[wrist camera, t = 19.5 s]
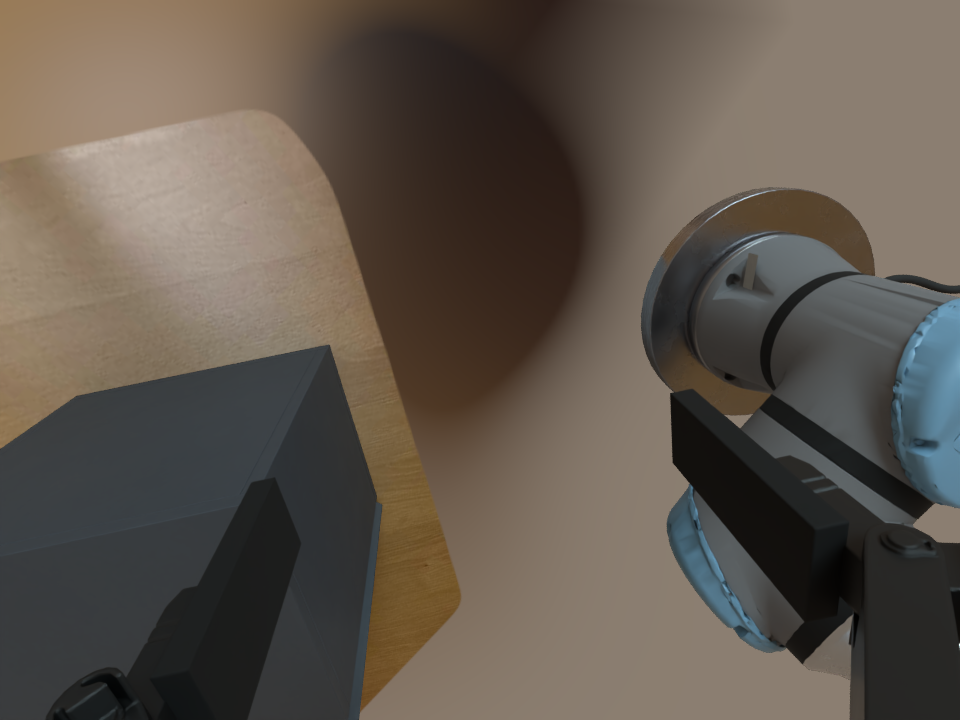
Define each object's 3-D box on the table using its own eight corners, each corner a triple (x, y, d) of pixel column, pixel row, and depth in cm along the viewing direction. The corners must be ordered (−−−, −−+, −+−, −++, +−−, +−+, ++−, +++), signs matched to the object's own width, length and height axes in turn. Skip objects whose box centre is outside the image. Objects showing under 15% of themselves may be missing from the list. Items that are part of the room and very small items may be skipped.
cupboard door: (427, 528, 57) (432, 756, 36) (316, 661, 63) (261, 928, 41) (374, 500, 55) (345, 725, 33) (264, 640, 61) (177, 911, 39)
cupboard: (377, 496, 55) (348, 722, 33) (156, 543, 55) (-25, 808, 32) (329, 344, 48) (253, 501, 26) (76, 395, 48) (-224, 603, 25)
